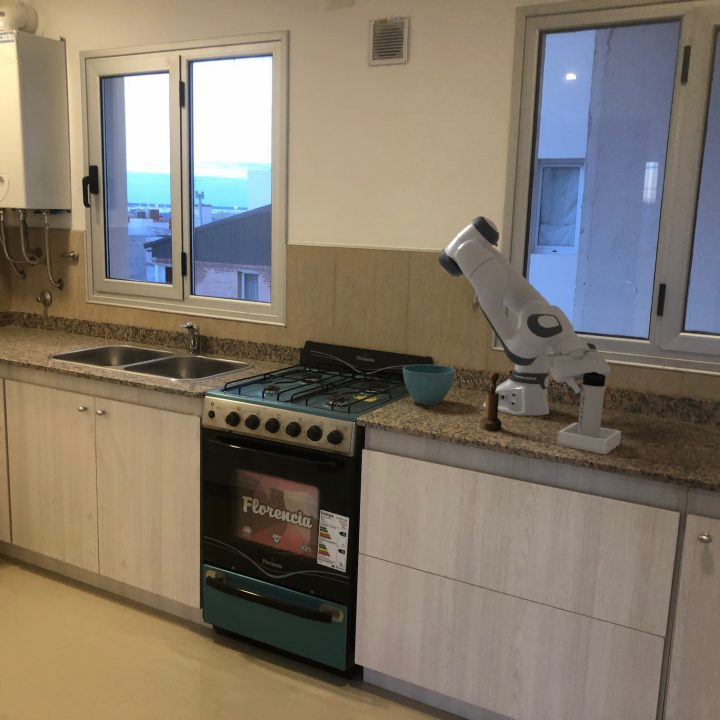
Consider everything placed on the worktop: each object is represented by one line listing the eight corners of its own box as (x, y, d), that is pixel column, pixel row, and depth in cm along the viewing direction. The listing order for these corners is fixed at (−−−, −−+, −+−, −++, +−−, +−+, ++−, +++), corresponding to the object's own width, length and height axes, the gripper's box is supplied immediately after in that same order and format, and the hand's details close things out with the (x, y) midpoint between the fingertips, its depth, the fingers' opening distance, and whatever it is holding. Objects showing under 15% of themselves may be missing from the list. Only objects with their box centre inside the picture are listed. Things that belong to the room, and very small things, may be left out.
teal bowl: (390, 401, 262) (392, 367, 260) (425, 394, 274) (427, 362, 272) (428, 411, 249) (430, 375, 247) (463, 404, 261) (465, 370, 259)
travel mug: (598, 439, 219) (605, 372, 216) (599, 444, 212) (606, 376, 209) (576, 437, 220) (583, 370, 217) (576, 441, 214) (583, 373, 211)
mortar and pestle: (475, 427, 231) (479, 370, 228) (487, 424, 235) (491, 368, 232) (493, 431, 226) (497, 374, 223) (505, 428, 231) (509, 371, 228)
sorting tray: (556, 444, 215) (558, 431, 214) (573, 435, 226) (574, 422, 225) (605, 454, 207) (606, 440, 206) (619, 444, 218) (621, 431, 217)
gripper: (549, 347, 215) (571, 387, 208) (600, 344, 225) (622, 382, 218) (538, 360, 220) (558, 399, 213) (588, 356, 229) (610, 394, 223)
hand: (591, 390), depth 216 cm, fingers open, 8 cm apart
